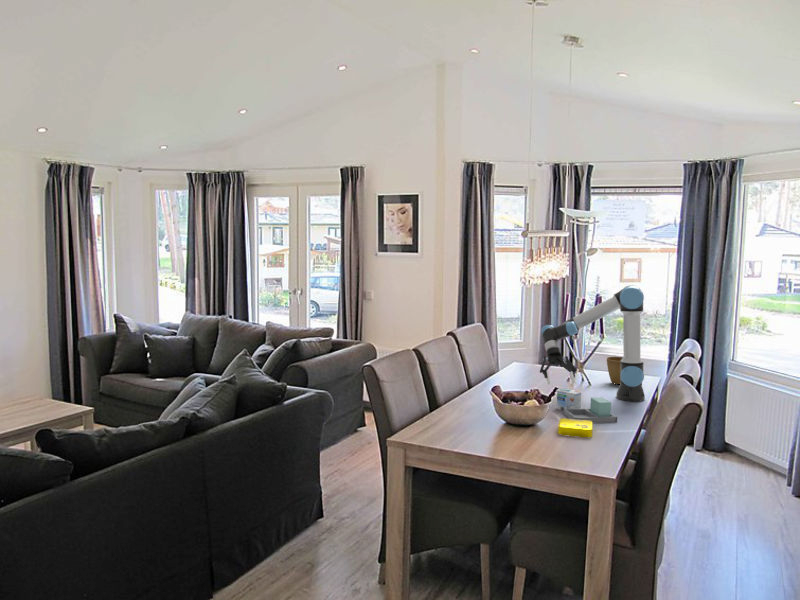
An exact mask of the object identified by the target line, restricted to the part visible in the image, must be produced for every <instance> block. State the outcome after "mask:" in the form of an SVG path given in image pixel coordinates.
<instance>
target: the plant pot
mask: <svg viewBox="0 0 800 600" xmlns="http://www.w3.org/2000/svg"><path fill="white" fill-rule="evenodd" d="M623 357H624V356H623ZM623 357H622V356H608V357H606V366H607V367H606V368H607V371H608V376H609V380H610V382H612V383H615V384H620V374H621V359H622V358H623ZM612 383H611V384H612ZM615 384H614V385H615Z"/></svg>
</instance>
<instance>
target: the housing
mask: <svg viewBox="0 0 800 600" xmlns="http://www.w3.org/2000/svg"><path fill="white" fill-rule="evenodd" d="M562 414H563V415H564V416H565V417H566V418H567V419H575V420H586V421H591V422H593V424H595V423H596V424H597V423H618V416H616V415H615V414H613V413H611V416H610V417H598V416H597V415H595V414H594V413H592V412H590V408H581V409H563V410H562Z"/></svg>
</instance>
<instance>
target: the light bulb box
mask: <svg viewBox="0 0 800 600" xmlns="http://www.w3.org/2000/svg"><path fill="white" fill-rule="evenodd" d="M556 392H557V393H556V410H561V411H563V409H582V408H581V407H582V406H581V405H582V391H580V390H575V389H574V390H573V389H568V388H561V389H558V390H556Z"/></svg>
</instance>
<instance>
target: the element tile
mask: <svg viewBox="0 0 800 600" xmlns="http://www.w3.org/2000/svg"><path fill="white" fill-rule="evenodd" d="M593 424H594V423H593V422H591V421H586V420H575V419H569V418H564V417H563V418H559V420H558V425H557V434H558V435H559V434H561V435H560V436H564V435H569V436H568V437H574V436H579V437H578V438H584V437H592V438H593Z"/></svg>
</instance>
